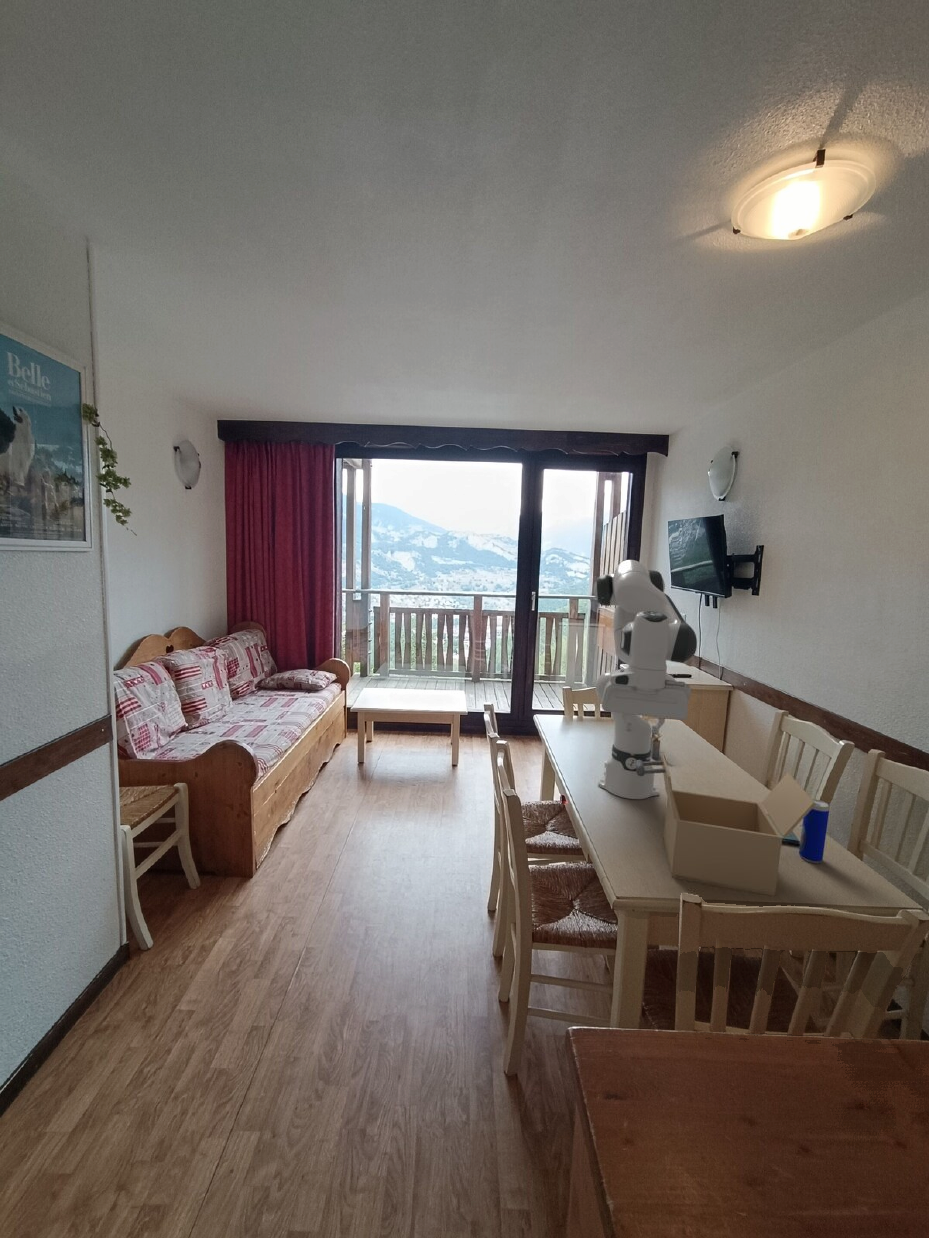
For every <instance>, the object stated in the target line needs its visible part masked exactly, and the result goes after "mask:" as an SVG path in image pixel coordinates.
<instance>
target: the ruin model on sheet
mask: <svg viewBox="0 0 929 1238" xmlns="http://www.w3.org/2000/svg"><path fill="white" fill-rule="evenodd" d="M661 737H663V735H661V733H659V734H658V735H655V734H652V733H651V742H650V750H651V759H652V760H659V759H660V751H661V750H660V748H661V740H660V738H661Z"/></svg>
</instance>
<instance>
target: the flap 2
mask: <svg viewBox="0 0 929 1238" xmlns="http://www.w3.org/2000/svg"><path fill="white" fill-rule="evenodd" d="M812 799H813V798H812V797H811V796H810V795H809V794H808V793H807V792H806V790H805V789H804V788H803V786H801V785H800V783H799V782H798V781H797V780H796V779H795V778H794V777H793V776H792V774H791V773H790V772H787V773H786V774H785V775H784V776H783V777H782V778H781V779H780V780H779V782H778V783H777V784H776V785H775V786H774V787H773V789H772V790H771V791H770V792H769V793H768V794H767V796H766V797H765V798H764V799H763V800H762V801H761V802H760V804H761V805H762V807H763V809H764V810H765V812H766V813H767V814H769V815H770V817H771V818H772V820H773V822H774V823H775V825H776V826H777V828H778V829H779V831H780V832H781V834H782V835H783V837H785V838H786V837H787V836H788V835H789V833H790V832H791V831H793V830H794V829H795V828H796V827H797V826H798V825H799V823H801V821H803V818H804V817H805V816H806V815H807V814H808V813H809V811H810V810H811V809H812V808H813V807H814V806H815V805H816V803H815V802H814V801H813V800H812Z"/></svg>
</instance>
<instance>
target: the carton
mask: <svg viewBox="0 0 929 1238" xmlns="http://www.w3.org/2000/svg"><path fill="white" fill-rule="evenodd" d="M672 791H673V798H674V806H675V813H676V819H673V815H672V811H671V808H670V804H669V800H668V796H667V800H666V810H665V811H666V812H665V819H664V827H663V828H664V831H663V843H664V848H665V853H666V858H667V862H668V866H669V868H668V869H669V873H670V877H671V878H675V879H679V880H685V881H691V882H696V883H701V884H707V885H711V886H716V887H718V886H719V887H723V888H727V889H728V888H729V889H733V890H739V891H744V892H749V893H756V894H759V895H760V894H761V895H766V896H771V897H775V896H776V891H777V890H776V889H777V883H778V875H779V866H780V858H781V851H782V850H781V849H782V844H783V843H782V837H781V835H780V833H779V832H778V830H777V829H776V827H775V826H774V824H773V823H772V821H771V819H770V818H769V816H768V815H767V814H768V812H767V811H766V809H765V808H764V806H763V805H762V803H761V802H758V801H757V802H756V801H752V800H751V801H750V800H746V799H745V800H743V799H737V798H730V797H724V796H716V795H709V794H702V793H696V792H689V791H683V790H676V789H672Z"/></svg>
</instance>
